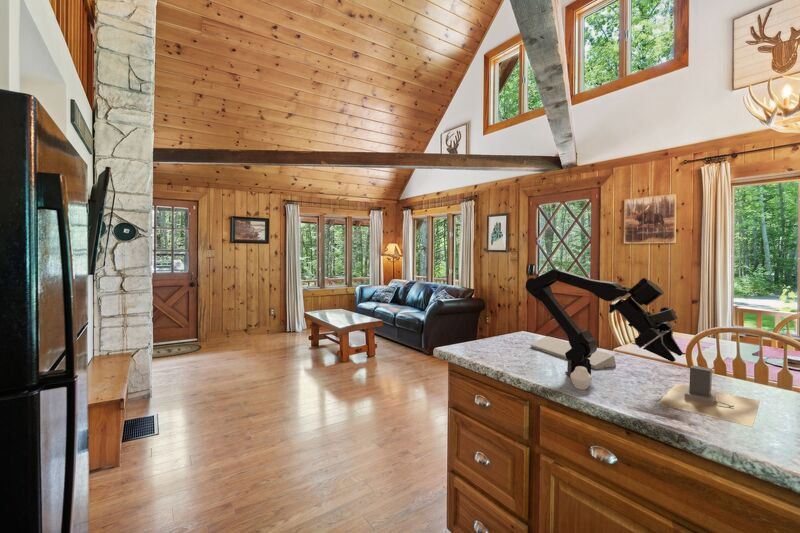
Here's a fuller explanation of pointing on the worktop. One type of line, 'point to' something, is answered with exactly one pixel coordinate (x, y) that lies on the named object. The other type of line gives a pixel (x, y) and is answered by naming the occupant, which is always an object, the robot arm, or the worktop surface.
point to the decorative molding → (561, 347)
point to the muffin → (581, 378)
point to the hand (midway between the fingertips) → (678, 358)
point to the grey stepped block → (700, 386)
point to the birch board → (715, 406)
